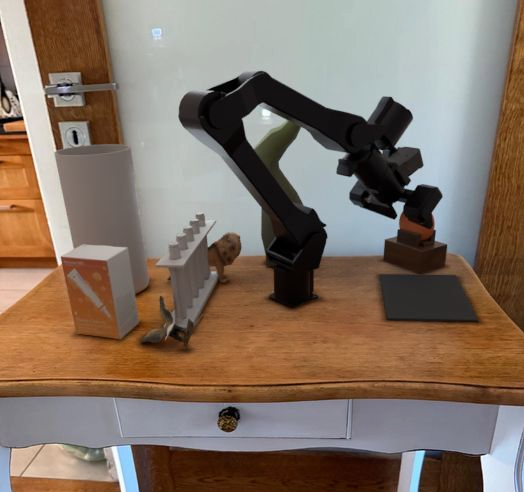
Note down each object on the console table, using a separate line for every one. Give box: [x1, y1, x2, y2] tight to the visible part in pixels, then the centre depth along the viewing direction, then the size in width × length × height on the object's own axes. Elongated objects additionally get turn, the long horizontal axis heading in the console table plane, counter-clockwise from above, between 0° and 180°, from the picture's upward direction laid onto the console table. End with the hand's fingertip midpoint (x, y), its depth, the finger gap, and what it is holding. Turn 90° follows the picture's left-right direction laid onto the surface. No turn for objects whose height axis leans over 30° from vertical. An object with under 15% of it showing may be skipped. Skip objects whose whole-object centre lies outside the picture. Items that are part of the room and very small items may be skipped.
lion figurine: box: [166, 231, 243, 284], centre depth 105 cm, size 15×5×9 cm, turn 98°
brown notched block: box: [382, 228, 448, 275], centre depth 110 cm, size 7×10×7 cm
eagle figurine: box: [140, 295, 204, 351], centre depth 83 cm, size 8×7×9 cm
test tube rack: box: [154, 211, 220, 328], centre depth 95 cm, size 25×4×13 cm, turn 173°
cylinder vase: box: [53, 143, 150, 295], centre depth 99 cm, size 12×12×25 cm
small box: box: [60, 244, 140, 340], centre depth 86 cm, size 8×6×13 cm
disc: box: [398, 211, 436, 242], centre depth 108 cm, size 2×7×7 cm, turn 33°
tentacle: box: [253, 119, 305, 268], centre depth 107 cm, size 9×12×30 cm
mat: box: [379, 273, 479, 323], centre depth 96 cm, size 20×14×1 cm
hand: (412, 222), depth 107 cm, fingers open, 9 cm apart
